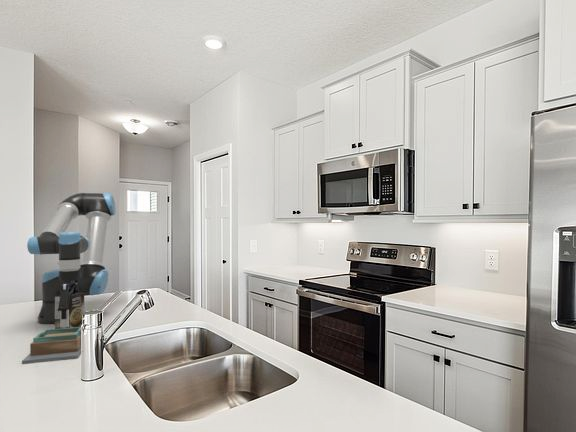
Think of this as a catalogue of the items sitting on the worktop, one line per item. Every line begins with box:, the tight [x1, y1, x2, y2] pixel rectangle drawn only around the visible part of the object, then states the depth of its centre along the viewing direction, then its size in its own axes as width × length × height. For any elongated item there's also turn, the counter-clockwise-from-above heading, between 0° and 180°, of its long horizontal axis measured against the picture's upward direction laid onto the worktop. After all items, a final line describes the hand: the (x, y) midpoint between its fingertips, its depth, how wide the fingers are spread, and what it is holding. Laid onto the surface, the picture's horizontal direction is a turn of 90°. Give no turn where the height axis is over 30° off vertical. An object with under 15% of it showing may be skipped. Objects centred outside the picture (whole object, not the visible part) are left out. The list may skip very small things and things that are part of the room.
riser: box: [29, 327, 81, 356], centre depth 130 cm, size 12×14×6 cm
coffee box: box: [54, 293, 85, 329], centre depth 149 cm, size 9×6×16 cm
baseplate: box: [21, 347, 82, 365], centre depth 130 cm, size 20×16×1 cm
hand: (69, 322), depth 149 cm, fingers open, 13 cm apart
